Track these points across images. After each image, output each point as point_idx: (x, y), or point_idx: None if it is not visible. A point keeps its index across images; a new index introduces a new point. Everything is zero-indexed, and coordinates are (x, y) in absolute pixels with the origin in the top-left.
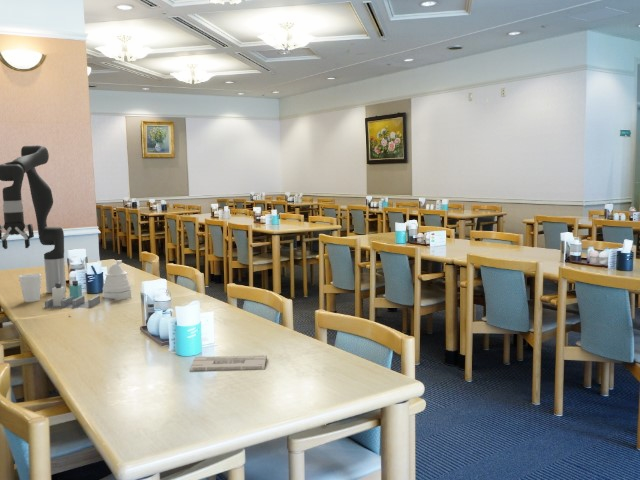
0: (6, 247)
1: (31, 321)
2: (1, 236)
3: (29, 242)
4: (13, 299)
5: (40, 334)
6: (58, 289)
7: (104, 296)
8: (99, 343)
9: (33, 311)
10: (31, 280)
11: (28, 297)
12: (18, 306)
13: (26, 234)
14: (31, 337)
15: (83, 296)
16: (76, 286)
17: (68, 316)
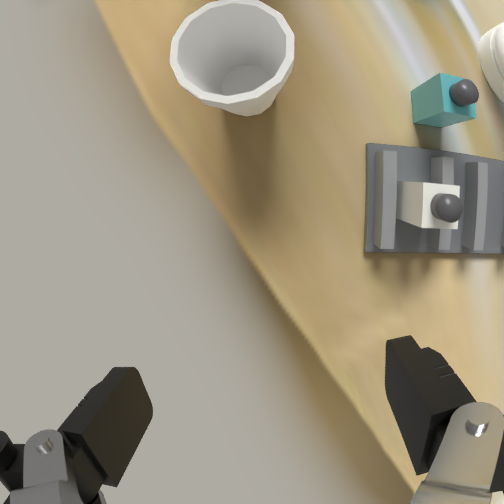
0: (140, 402)
1: (378, 387)
2: (16, 477)
3: (457, 383)
4: (143, 40)
5: None
6: (445, 227)
7: (500, 90)
8: None
9: (334, 257)
10: (265, 98)
11: (247, 113)
12: (227, 158)
13: (479, 495)
14: (407, 479)
15: (487, 172)
16: (470, 117)
17: (461, 335)
